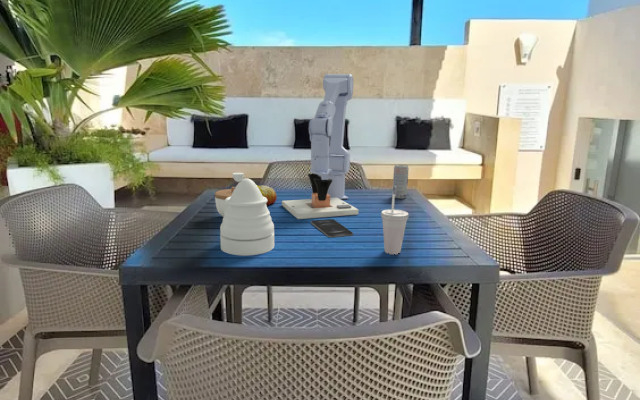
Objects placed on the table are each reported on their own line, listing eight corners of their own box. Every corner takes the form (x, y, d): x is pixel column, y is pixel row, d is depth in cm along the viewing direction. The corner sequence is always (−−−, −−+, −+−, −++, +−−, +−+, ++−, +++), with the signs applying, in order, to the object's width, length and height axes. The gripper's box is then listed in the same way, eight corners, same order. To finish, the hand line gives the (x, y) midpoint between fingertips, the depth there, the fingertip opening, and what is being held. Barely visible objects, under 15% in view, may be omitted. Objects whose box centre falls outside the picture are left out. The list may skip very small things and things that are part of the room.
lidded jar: (258, 215, 132) (258, 185, 130) (238, 224, 123) (237, 192, 121) (230, 211, 137) (229, 182, 134) (208, 219, 127) (206, 188, 125)
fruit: (276, 206, 143) (269, 183, 141) (246, 214, 144) (239, 192, 142) (280, 198, 154) (273, 177, 152) (252, 206, 154) (245, 185, 153)
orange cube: (311, 208, 143) (311, 192, 142) (326, 207, 144) (326, 191, 143) (314, 212, 138) (315, 195, 137) (329, 211, 139) (330, 195, 138)
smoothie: (376, 247, 106) (379, 191, 102) (402, 247, 106) (405, 191, 103) (382, 256, 99) (385, 197, 96) (409, 256, 100) (413, 197, 97)
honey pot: (226, 258, 96) (224, 179, 92) (216, 241, 108) (213, 170, 104) (281, 251, 101) (281, 176, 97) (265, 235, 113) (265, 167, 109)
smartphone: (329, 236, 112) (309, 220, 126) (328, 239, 112) (309, 223, 126) (354, 234, 115) (333, 218, 128) (354, 237, 115) (333, 221, 129)
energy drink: (405, 195, 165) (408, 164, 162) (407, 199, 160) (409, 166, 157) (391, 195, 165) (393, 164, 163) (392, 198, 160) (394, 166, 157)
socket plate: (282, 205, 146) (282, 199, 145) (336, 201, 153) (336, 195, 152) (297, 219, 129) (298, 211, 129) (358, 214, 136) (358, 207, 136)
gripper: (338, 159, 131) (337, 202, 134) (326, 153, 145) (325, 192, 148) (315, 159, 129) (314, 203, 133) (306, 153, 143) (305, 193, 146)
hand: (319, 197), depth 140 cm, fingers open, 7 cm apart
